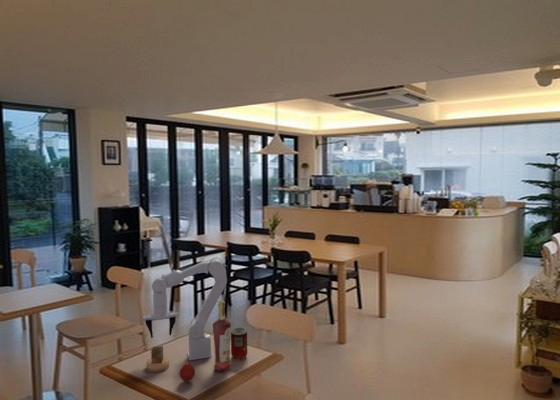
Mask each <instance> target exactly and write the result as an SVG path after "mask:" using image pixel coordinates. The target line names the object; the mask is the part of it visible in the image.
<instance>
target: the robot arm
mask: <svg viewBox="0 0 560 400" xmlns="http://www.w3.org/2000/svg"><path fill="white" fill-rule="evenodd" d="M199 273H205V274H210V275H211V276H212V277H213V280H214V284H213V285H212V288H211V289H210V291H209V293H208V295H207V297H206V299H205V301H204V302H203V304H202V306H201V308H200V310H199V312H198V313H197V314H196V316H195V317H194V318H193V319H192V320H190V325H189V329H188V351H187V353H186V354H187V357H188V360H189V361H195V360H200V359H201V360H202V359H208V358H212V344H211V343H212V341H211V335H210V333H206V332H205V331H204V329H205V327H206V325H207V322H208V320H209V317H210V315H211V313H212V311H213V310H214V308H215V306H216V305H217V304H218V302H219V299H220V296H221V295H222V293H223V292H224V289H225V288H226V286H227V283H228V278H227V270H226V264H225V263H224V260H223V259H222V258H221V257H218V256H216V257H212V258H208V259H206V260H203V261H201V262H199V263H196V264H194V265H193V266H190V267H188V268H186V269H184V270H180V269H173V270H171V272H169V273H167V274H162V275H161V276H158V277H156V278H154V280H153V282H152V284H151V289H152V292H153V295H152V297H153V299H152V301H153V302H152V303H153V305H152V306H153V307H152V308H153V314H149V315H144V316H142V322H143V323H145V325H146V327H147V329H148V331H149V335H150V338H151V339H153V338H154V336H153V321H160V320H161V321H162V320H168V322H169V324H168V327H169V329H168V335H169V336H172V333H173V329H174V325H175V324H176V319H178V318H179V313H178V312H168V294H167V289H169V288H172V287H174V286H176V285H179V284H182V283H183V282H184V280H185V278H188V277H191V276H193V275H194V276H195V275H196V274H199Z"/></svg>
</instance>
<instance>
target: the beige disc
mask: <svg viewBox="0 0 560 400" xmlns="http://www.w3.org/2000/svg"><path fill="white" fill-rule="evenodd" d="M145 365H146V366H145V367H146V371H147V372H150V373H160V372H163V371H165V370H167V369H168V368H169V367H170V359H169V358H168V356H164V355H163V361H162V363H155V364H152V359H151V358H149V359H147V360H146V363H145Z"/></svg>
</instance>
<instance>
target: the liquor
mask: <svg viewBox="0 0 560 400" xmlns="http://www.w3.org/2000/svg"><path fill="white" fill-rule="evenodd" d="M217 307H218V317H217V320H216V321H214V322H213V323H212V336H213V347H214V348H213V349H214V365H213V367H214V369H215V370H216V371H218V372H226V371H228V370H229V369H230V368H231V366H232V364H231V331H232V330H231V328H232V324H231V322H230V321H229V320H227V319H226V312H225V308H226V301H224V300H220V301H219V300H218V301H217Z"/></svg>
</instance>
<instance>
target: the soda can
mask: <svg viewBox="0 0 560 400" xmlns="http://www.w3.org/2000/svg"><path fill="white" fill-rule="evenodd" d="M247 355H248V331H247V329H246V328H243V327H236V328H235V327H234V328H233V329H232V330H231V337H230V356H231V357H232V359H233V360H235V361H243V360H245V359H246V358H247Z"/></svg>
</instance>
